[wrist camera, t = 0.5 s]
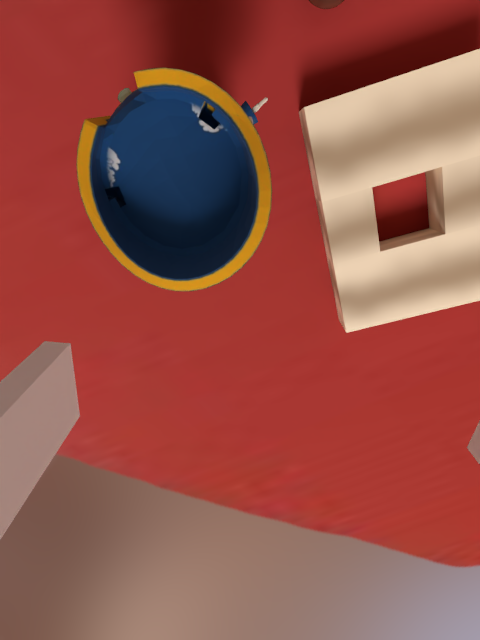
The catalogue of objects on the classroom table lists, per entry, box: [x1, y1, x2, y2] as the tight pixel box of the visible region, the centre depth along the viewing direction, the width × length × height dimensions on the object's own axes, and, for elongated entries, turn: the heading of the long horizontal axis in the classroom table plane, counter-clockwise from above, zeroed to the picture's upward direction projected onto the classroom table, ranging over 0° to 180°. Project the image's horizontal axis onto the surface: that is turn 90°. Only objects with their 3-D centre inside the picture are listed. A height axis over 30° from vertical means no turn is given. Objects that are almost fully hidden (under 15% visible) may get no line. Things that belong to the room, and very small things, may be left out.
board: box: [299, 49, 480, 333], centre depth 31 cm, size 20×14×3 cm
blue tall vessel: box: [77, 68, 272, 291], centre depth 23 cm, size 13×9×20 cm
